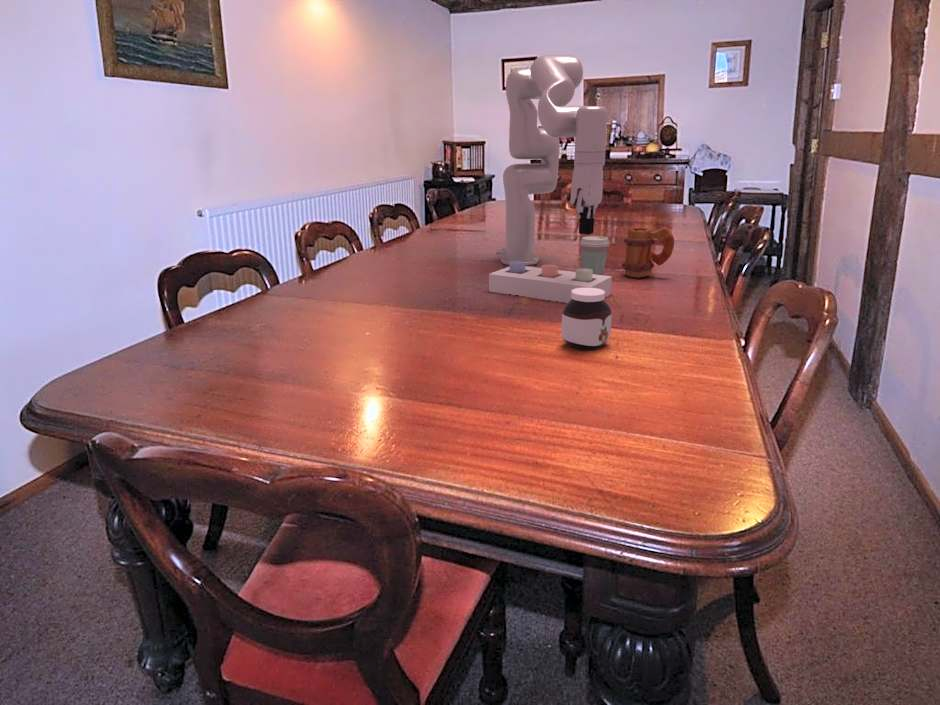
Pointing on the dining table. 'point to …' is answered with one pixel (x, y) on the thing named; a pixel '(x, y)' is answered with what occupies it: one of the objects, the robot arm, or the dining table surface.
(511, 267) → the slate button
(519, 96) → the robot arm
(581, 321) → the spread jar
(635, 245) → the mug
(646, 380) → the dining table surface
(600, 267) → the coffee cup
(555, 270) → the orange rounded piece
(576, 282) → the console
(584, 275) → the sage button
